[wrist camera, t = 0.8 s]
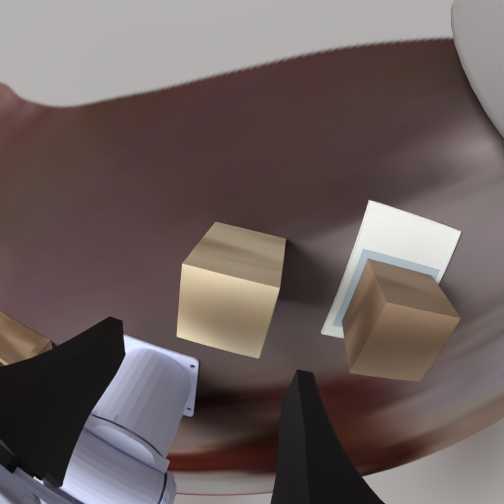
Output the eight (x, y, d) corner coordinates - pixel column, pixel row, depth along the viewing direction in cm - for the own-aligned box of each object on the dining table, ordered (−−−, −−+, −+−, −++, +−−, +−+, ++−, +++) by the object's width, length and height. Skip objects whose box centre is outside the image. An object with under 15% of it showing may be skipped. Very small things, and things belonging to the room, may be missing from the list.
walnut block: (401, 333, 20) (419, 381, 15) (341, 321, 20) (349, 372, 15) (431, 275, 18) (460, 318, 13) (367, 258, 18) (386, 302, 13)
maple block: (270, 298, 21) (258, 358, 15) (206, 282, 21) (176, 336, 15) (286, 238, 19) (279, 288, 13) (215, 221, 19) (182, 263, 13)
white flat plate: (402, 346, 21) (403, 349, 20) (321, 331, 21) (321, 334, 21) (459, 230, 16) (461, 232, 16) (369, 199, 17) (370, 201, 16)
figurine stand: (71, 399, 33) (51, 428, 27) (1, 355, 33) (-19, 377, 28) (50, 340, 27) (21, 372, 22) (-21, 296, 28) (-47, 318, 23)
